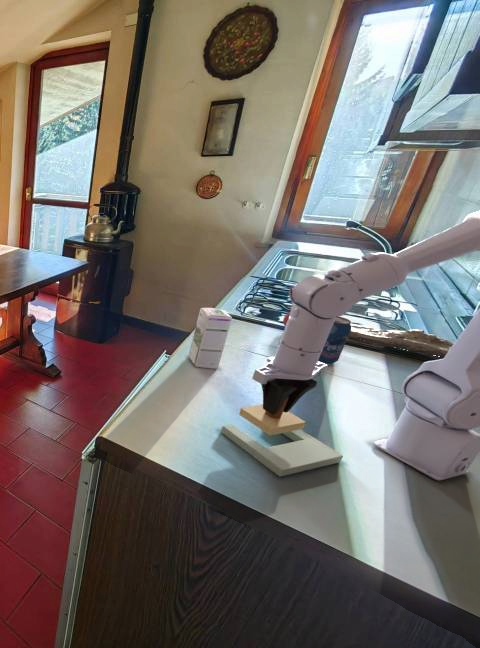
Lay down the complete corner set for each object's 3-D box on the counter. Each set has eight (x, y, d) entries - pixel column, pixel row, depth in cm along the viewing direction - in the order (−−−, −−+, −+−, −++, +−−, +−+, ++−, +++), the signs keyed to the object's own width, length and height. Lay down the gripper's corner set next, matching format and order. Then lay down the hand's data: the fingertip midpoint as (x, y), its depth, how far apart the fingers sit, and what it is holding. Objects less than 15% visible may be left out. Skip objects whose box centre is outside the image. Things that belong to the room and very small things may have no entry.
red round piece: (275, 329, 123) (284, 306, 120) (286, 326, 126) (294, 303, 122) (296, 337, 118) (305, 312, 115) (306, 333, 121) (316, 310, 118)
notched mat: (339, 462, 69) (343, 455, 69) (279, 476, 66) (282, 470, 65) (275, 421, 80) (277, 415, 79) (220, 431, 76) (222, 425, 76)
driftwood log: (303, 325, 130) (300, 335, 124) (307, 310, 128) (304, 320, 122) (464, 353, 108) (471, 368, 102) (473, 336, 106) (481, 350, 100)
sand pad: (303, 428, 72) (315, 401, 69) (269, 435, 70) (280, 407, 67) (270, 408, 77) (280, 382, 75) (238, 414, 75) (247, 388, 73)
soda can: (318, 365, 102) (335, 324, 97) (296, 353, 108) (312, 313, 103) (343, 365, 102) (362, 324, 97) (320, 353, 108) (337, 313, 104)
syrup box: (218, 369, 99) (234, 317, 94) (193, 366, 100) (207, 314, 95) (210, 359, 104) (225, 308, 99) (186, 356, 105) (200, 306, 100)
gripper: (308, 331, 73) (283, 393, 78) (247, 339, 69) (226, 403, 74) (351, 348, 66) (321, 414, 72) (286, 357, 63) (260, 426, 68)
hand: (275, 410), depth 72 cm, fingers closed on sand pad, 2 cm apart
